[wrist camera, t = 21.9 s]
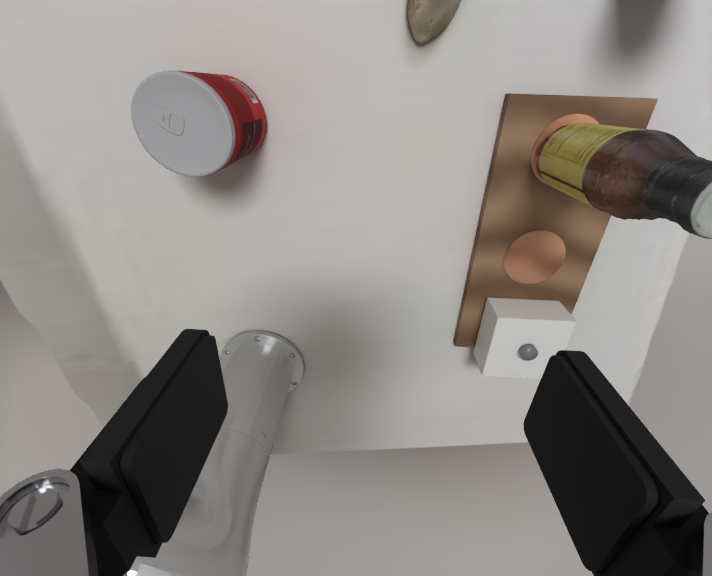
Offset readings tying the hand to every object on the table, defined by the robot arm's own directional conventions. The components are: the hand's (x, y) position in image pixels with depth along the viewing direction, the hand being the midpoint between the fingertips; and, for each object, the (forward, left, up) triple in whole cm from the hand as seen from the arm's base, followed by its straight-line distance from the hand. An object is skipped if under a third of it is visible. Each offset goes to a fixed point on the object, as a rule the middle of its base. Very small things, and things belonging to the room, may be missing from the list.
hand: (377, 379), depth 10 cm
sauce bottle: (+2, -19, -32) cm, 37 cm away
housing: (-20, -20, -32) cm, 42 cm away
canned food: (+4, +15, -33) cm, 37 cm away
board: (-8, -20, -33) cm, 39 cm away
